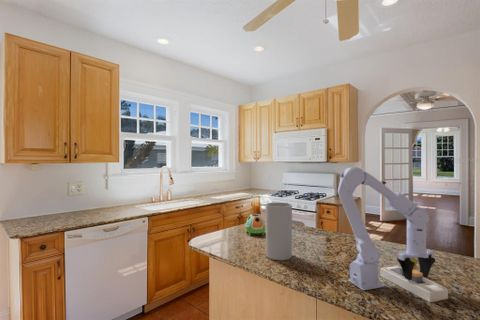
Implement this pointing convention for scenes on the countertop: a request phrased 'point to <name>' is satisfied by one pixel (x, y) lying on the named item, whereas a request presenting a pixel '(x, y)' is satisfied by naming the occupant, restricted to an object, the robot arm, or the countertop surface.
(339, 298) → the countertop surface
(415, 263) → the lemon
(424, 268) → the robot arm
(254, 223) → the turtle holder
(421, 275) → the orange and grey block
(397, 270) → the shutter
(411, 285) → the socket board
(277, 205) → the cylinder vase
